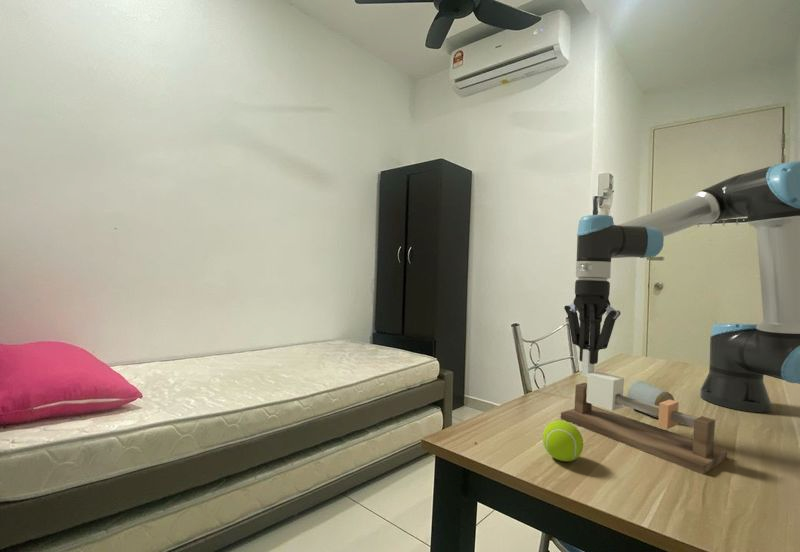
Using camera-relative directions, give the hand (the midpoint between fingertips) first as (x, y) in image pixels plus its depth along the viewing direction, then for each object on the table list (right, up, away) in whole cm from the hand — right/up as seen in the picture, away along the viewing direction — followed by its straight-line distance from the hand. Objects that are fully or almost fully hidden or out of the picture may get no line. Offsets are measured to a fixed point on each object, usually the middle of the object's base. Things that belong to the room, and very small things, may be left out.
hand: (587, 375), depth 91 cm
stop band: (+9, -6, -14) cm, 18 cm away
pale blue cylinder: (+20, -12, +6) cm, 24 cm away
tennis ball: (-15, -10, -21) cm, 28 cm away
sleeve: (+2, -6, -4) cm, 7 cm away
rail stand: (+6, -11, -9) cm, 15 cm away
